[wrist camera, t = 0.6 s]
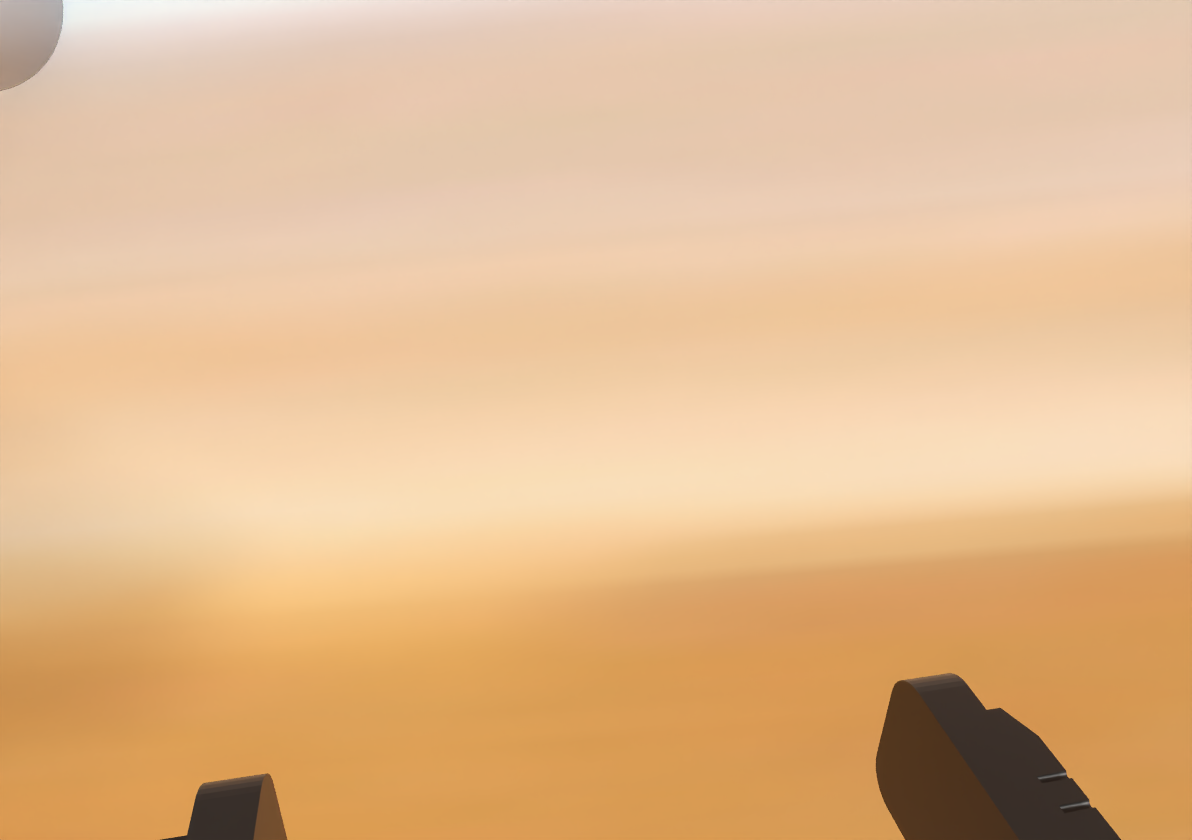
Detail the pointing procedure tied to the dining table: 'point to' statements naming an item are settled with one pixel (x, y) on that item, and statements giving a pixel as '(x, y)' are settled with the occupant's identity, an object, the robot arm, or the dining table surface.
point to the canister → (27, 37)
